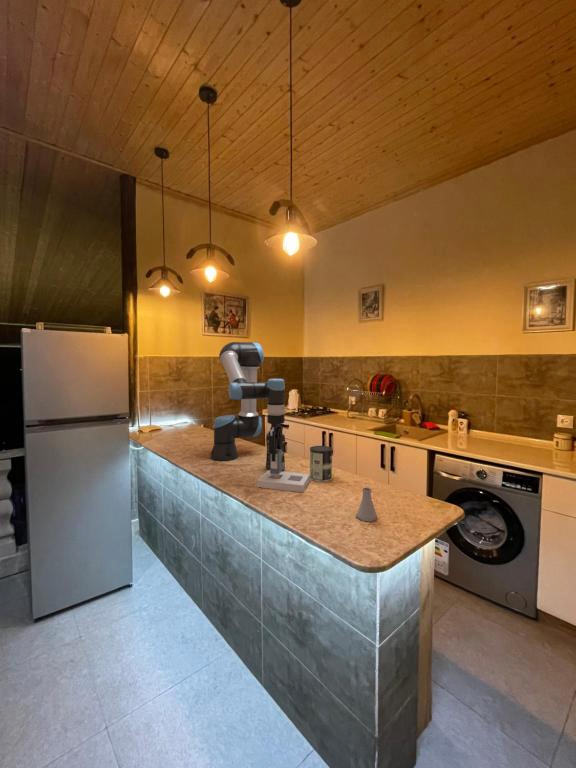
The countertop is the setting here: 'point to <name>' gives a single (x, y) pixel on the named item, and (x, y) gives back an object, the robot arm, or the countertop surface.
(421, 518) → the countertop surface
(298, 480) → the outlet plate
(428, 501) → the countertop surface
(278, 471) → the cylinder
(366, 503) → the flask
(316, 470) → the coffee can
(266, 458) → the coffee jar
